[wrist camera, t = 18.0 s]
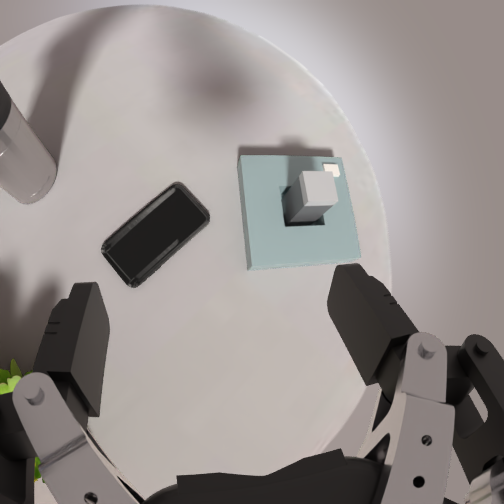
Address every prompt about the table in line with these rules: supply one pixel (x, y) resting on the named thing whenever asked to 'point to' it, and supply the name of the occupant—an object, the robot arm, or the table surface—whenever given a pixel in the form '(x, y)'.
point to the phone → (154, 235)
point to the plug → (309, 198)
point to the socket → (272, 219)
